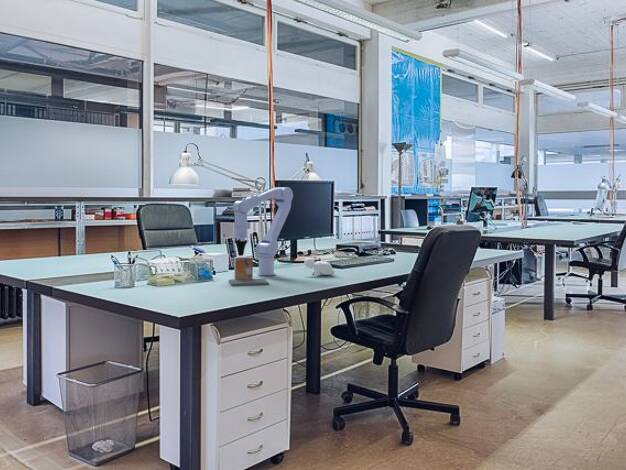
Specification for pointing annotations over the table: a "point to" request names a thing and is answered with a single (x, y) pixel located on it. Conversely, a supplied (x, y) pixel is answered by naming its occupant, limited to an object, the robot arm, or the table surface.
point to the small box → (243, 268)
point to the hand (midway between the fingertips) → (240, 255)
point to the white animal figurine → (319, 267)
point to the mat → (248, 282)
